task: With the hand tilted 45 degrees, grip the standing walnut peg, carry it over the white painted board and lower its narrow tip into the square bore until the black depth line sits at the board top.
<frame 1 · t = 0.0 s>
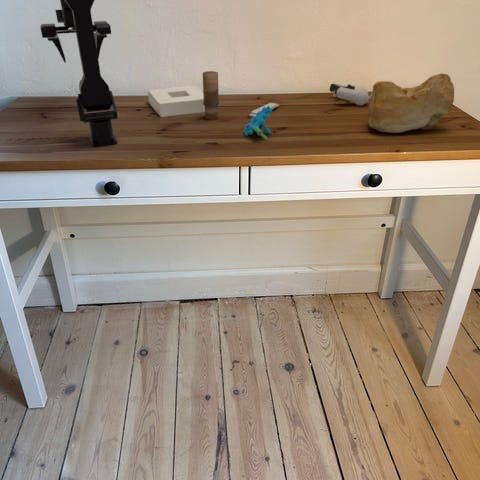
hand: (81, 61, 137), 15 cm above the table, fingers open, 9 cm apart
rough brown rock: (400, 126, 136), on the table
white board: (179, 106, 149), on the table
harmonica: (264, 114, 145), on the table
gear: (257, 135, 128), on the table
walnut peg: (211, 117, 140), on the table
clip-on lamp: (358, 102, 155), on the table
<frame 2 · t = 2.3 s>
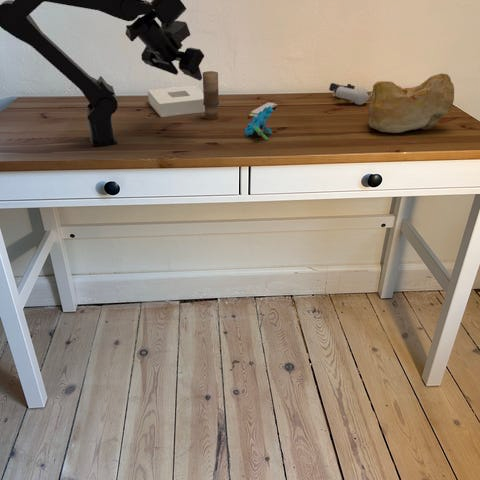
hand: (188, 76, 128), 13 cm above the table, fingers open, 9 cm apart
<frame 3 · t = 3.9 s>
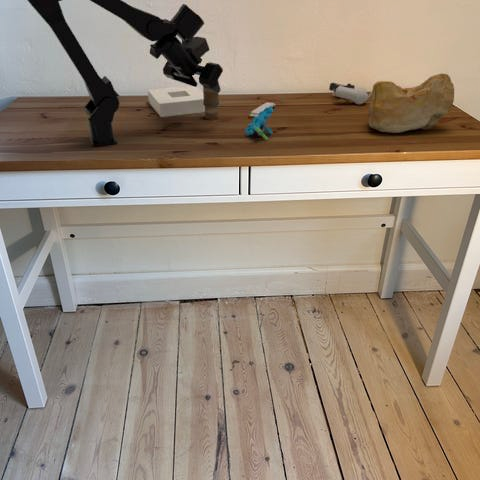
hand: (207, 88, 134), 9 cm above the table, fingers open, 9 cm apart
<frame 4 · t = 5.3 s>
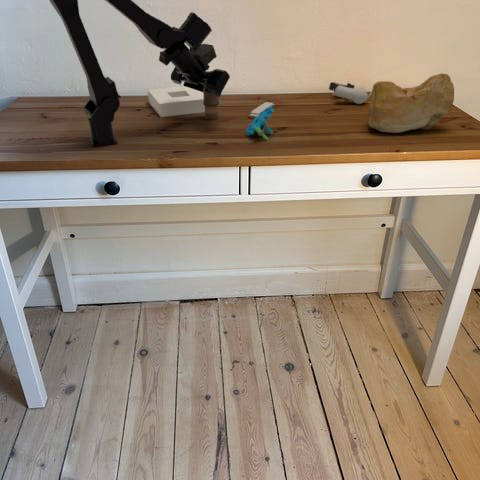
hand: (214, 94, 137), 7 cm above the table, fingers closed on walnut peg, 4 cm apart
walnut peg: (211, 117, 140), on the table, touching gripper
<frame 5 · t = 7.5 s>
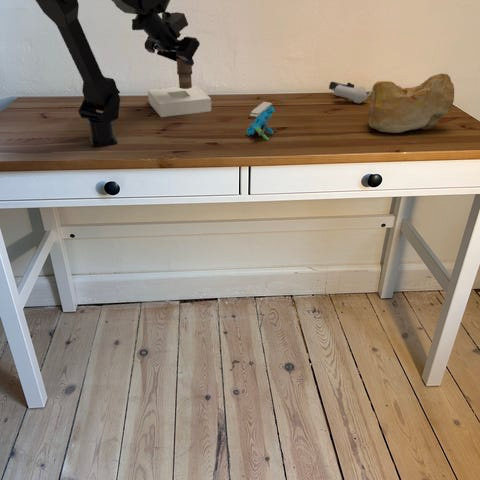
hand: (187, 63, 140), 14 cm above the table, fingers closed on walnut peg, 4 cm apart
walnut peg: (185, 87, 143), point 7 cm above the table, touching gripper
when the fingers open (9 cm above the table, at t = 10.0 s): walnut peg drops 2 cm, resting in white board.
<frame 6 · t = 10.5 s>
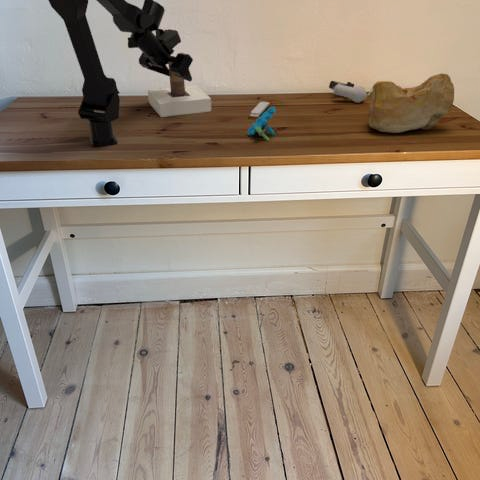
hand: (180, 77, 145), 9 cm above the table, fingers open, 9 cm apart
walnut peg: (179, 106, 149), resting in white board
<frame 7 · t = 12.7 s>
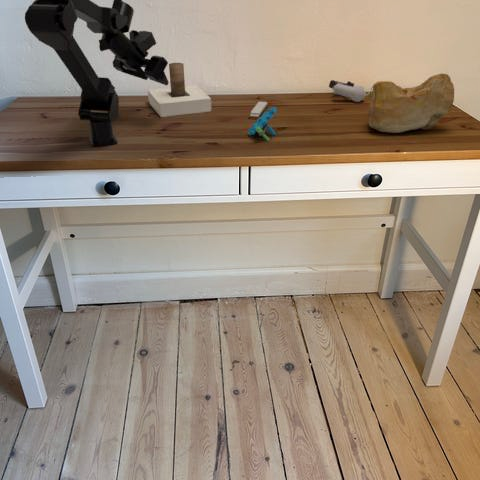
hand: (157, 81, 139), 9 cm above the table, fingers open, 9 cm apart
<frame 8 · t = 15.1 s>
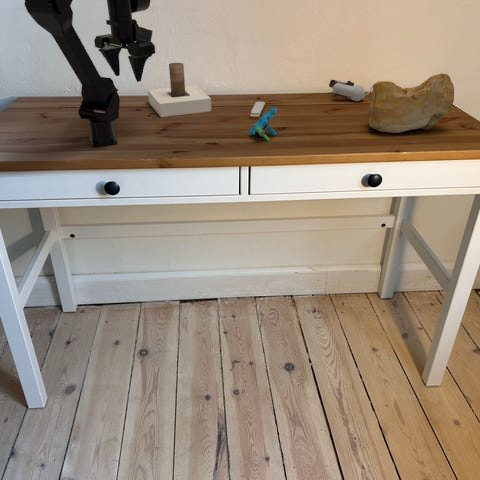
hand: (128, 78, 127), 13 cm above the table, fingers open, 9 cm apart
at the end: walnut peg 0.1 cm off-centre on the white board, point 0.0 cm above the white board's base; walnut peg tilted 0°; the gripper is holding nothing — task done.
